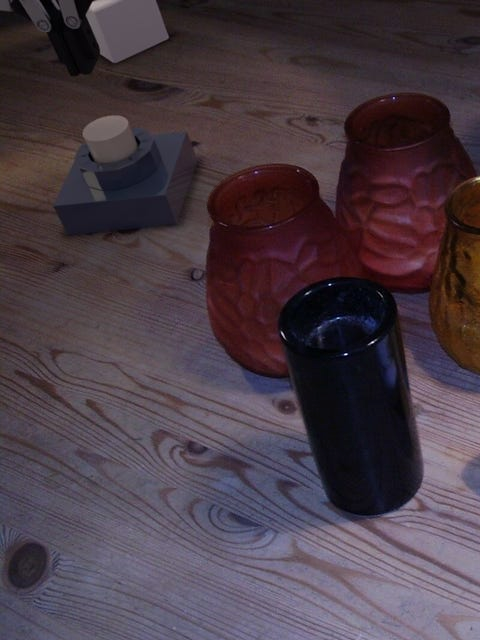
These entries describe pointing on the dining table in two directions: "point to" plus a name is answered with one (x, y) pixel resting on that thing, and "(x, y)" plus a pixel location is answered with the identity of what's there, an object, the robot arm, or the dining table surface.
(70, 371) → the dining table surface
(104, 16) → the medicine bottle
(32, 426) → the dining table surface
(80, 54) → the robot arm
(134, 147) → the beige cylinder
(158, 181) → the button housing
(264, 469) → the dining table surface
